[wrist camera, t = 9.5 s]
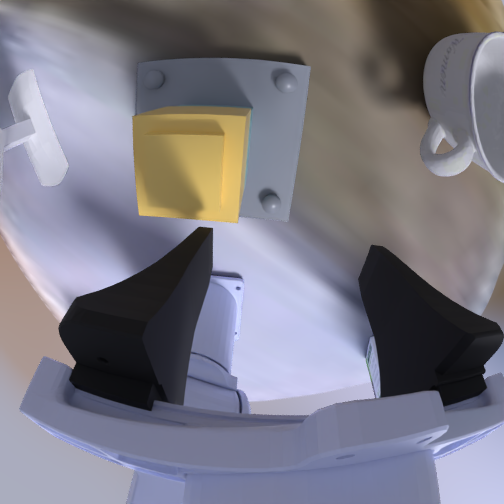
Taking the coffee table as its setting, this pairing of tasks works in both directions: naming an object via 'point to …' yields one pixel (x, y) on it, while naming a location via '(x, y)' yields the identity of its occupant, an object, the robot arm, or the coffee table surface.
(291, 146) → the base plate
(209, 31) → the coffee table surface
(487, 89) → the teacup
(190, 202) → the ochre brick
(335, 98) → the coffee table surface
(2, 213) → the coffee table surface
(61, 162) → the heart sculpture
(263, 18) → the coffee table surface
